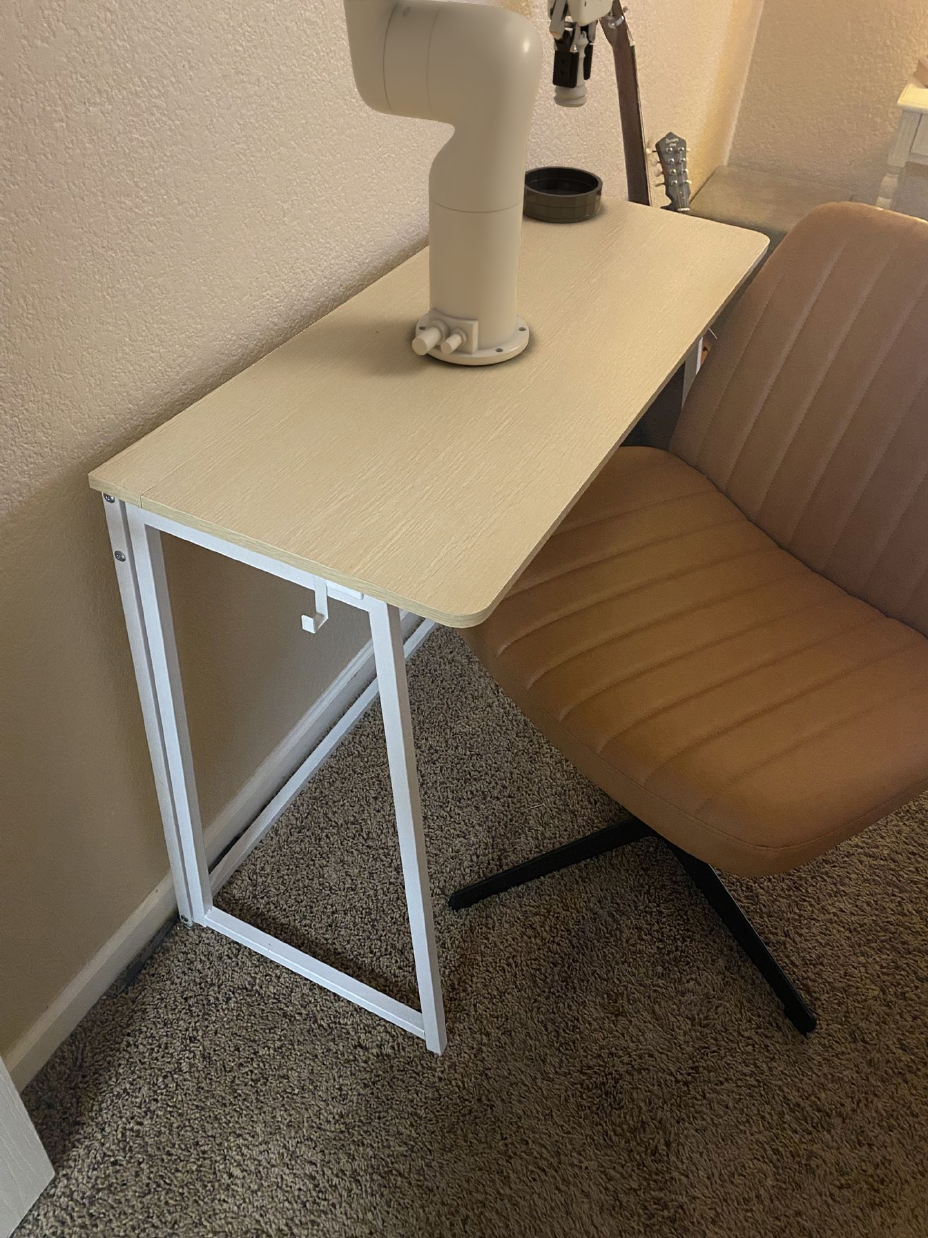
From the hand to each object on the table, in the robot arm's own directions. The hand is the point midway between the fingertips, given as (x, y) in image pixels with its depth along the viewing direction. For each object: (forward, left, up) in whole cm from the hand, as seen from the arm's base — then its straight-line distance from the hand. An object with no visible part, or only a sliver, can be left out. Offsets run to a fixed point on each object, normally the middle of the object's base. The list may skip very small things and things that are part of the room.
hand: (571, 80), depth 121 cm
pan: (0, 0, -16) cm, 16 cm away
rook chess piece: (0, 0, -3) cm, 3 cm away
